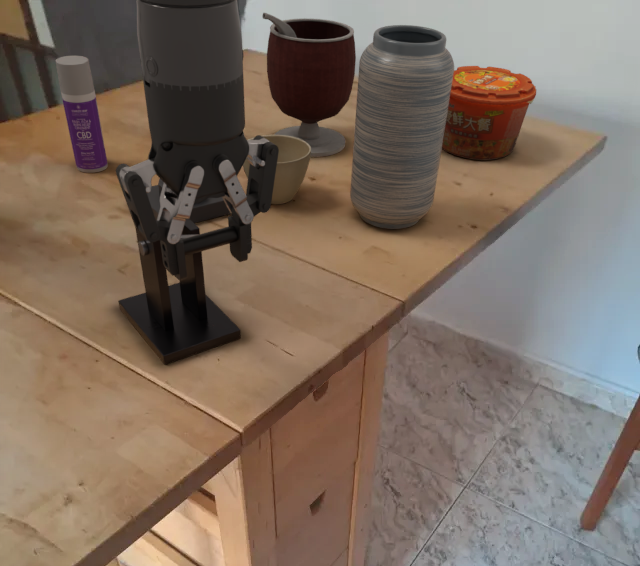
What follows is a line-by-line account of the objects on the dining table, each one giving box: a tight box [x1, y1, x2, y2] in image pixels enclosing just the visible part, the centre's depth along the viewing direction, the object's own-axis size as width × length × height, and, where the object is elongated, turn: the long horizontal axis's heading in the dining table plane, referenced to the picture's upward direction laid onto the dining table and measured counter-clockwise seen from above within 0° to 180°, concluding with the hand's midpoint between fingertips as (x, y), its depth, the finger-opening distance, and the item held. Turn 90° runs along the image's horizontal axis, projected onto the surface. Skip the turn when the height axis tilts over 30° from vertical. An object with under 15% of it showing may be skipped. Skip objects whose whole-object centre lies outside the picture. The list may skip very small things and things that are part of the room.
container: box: [55, 55, 109, 174], centre depth 101 cm, size 5×5×15 cm
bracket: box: [117, 219, 242, 365], centre depth 72 cm, size 12×9×12 cm
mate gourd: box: [262, 12, 357, 158], centre depth 109 cm, size 16×14×20 cm
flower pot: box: [242, 134, 311, 205], centre depth 98 cm, size 10×10×7 cm
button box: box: [147, 178, 232, 224], centre depth 95 cm, size 11×9×4 cm
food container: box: [442, 65, 537, 161], centre depth 114 cm, size 16×16×11 cm
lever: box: [180, 226, 238, 256], centre depth 65 cm, size 12×6×2 cm, turn 34°
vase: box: [349, 24, 455, 230], centre depth 90 cm, size 12×12×23 cm
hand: (209, 265), depth 63 cm, fingers closed on lever, 5 cm apart
